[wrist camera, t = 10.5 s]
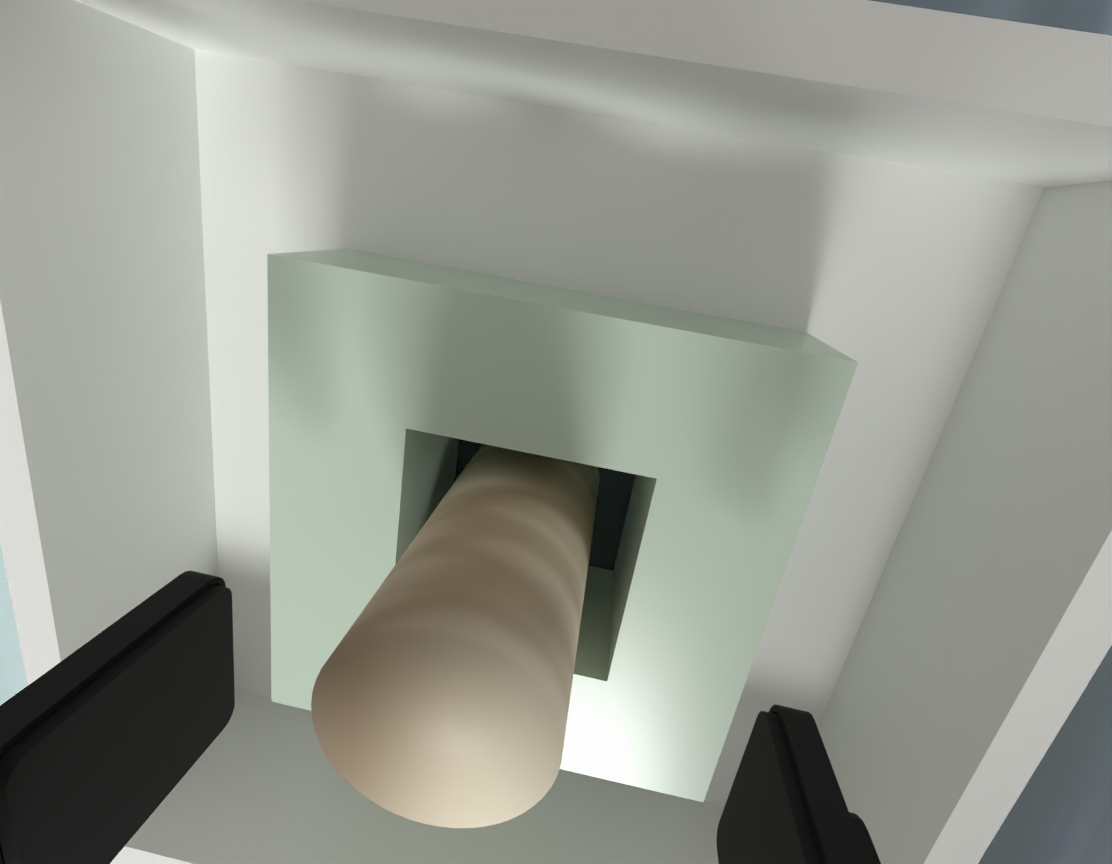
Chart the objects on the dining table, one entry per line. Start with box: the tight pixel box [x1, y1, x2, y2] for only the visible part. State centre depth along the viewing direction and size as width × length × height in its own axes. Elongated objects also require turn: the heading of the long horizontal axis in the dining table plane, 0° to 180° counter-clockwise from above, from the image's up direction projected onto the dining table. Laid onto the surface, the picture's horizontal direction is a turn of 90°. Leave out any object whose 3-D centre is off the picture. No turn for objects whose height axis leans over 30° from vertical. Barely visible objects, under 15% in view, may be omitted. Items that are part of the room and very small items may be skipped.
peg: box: [311, 444, 600, 828], centre depth 14 cm, size 4×4×10 cm
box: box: [0, 0, 1112, 864], centre depth 15 cm, size 22×22×7 cm
